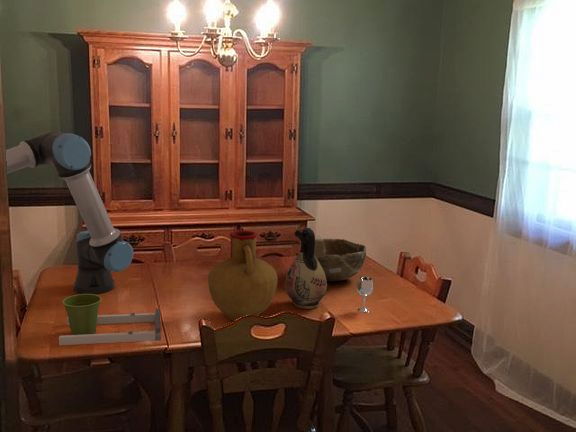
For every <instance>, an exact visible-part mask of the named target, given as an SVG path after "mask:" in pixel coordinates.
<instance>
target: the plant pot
mask: <svg viewBox="0 0 576 432" xmlns="http://www.w3.org/2000/svg"><path fill="white" fill-rule="evenodd" d="M102 299H103V297H101V295H98V294H82V293H78V294H74V295H70V296H67V297H65V298H64V299H63V300H62V303H61V304H62V305H63V306H64V309H65V311H66V315H67V317H68V319H69V323H70V325H69V327H70V332H71V335H86V334H96V331H97V325H98V324H97V316H98V315H99V309H100V303H101V302H102Z"/></svg>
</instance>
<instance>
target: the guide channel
mask: <svg viewBox="0 0 576 432" xmlns="http://www.w3.org/2000/svg"><path fill="white" fill-rule="evenodd" d="M150 322H151V323H152V322H153V323H154V325H155V327H154V330H151V331H147V330H146V331H132V330H131V331H130V330H129V331H127V332H111V333H94V334H86V335H73V334H68V335H59V337H58V344H59V346H75V345H76V346H77V345H92V344H93V345H94V344H113V343H129V342H149V341H150V342H151V341H154V342H155V341H161V308H155V312H147V313H146V312H145V313H135V312H131V313H123V314H122V313H121V314H102V315H101V314H100V315H99V314H98V316H97V324H96V325H104V324H105V325H107V324H111V325H112V324H131V323H132V324H133V323H150ZM66 325H67V326H68V327H70V323H69V319H68V316H67V317H66Z"/></svg>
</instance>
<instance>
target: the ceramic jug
mask: <svg viewBox="0 0 576 432" xmlns="http://www.w3.org/2000/svg"><path fill="white" fill-rule="evenodd" d="M294 236H295V237H296V238H298V239H299V241H300V250H299V252H298V254H297V255H296V256H295V257H294V259H293V260H292V263H291V264H290V265H289V268H288V270H287V273H286V277H285V281H284V287H285V291H286V292H285V293H286V294H287V296H288V298H289V299H290V300H291V301H292V303H293V305H294V307H296V308H300V309H303V310H305V309H307V310H311V309H314V308H316V307H317V308H318V307H319V305H320V301H321V300H322V299H323V297H324V296H325V294H326V293H327V289H328V283H327V282H328V281H326V276H325V273H324V270H323V268H322V267H321V265H320V263H319V262H318V260H317V259H316V257H315V256H314V249H315V240H316V235H315V232H314V230H313V229H311V227H305V228H303V229H302V231H301V230H300V229H296V230H295V232H294Z"/></svg>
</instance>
